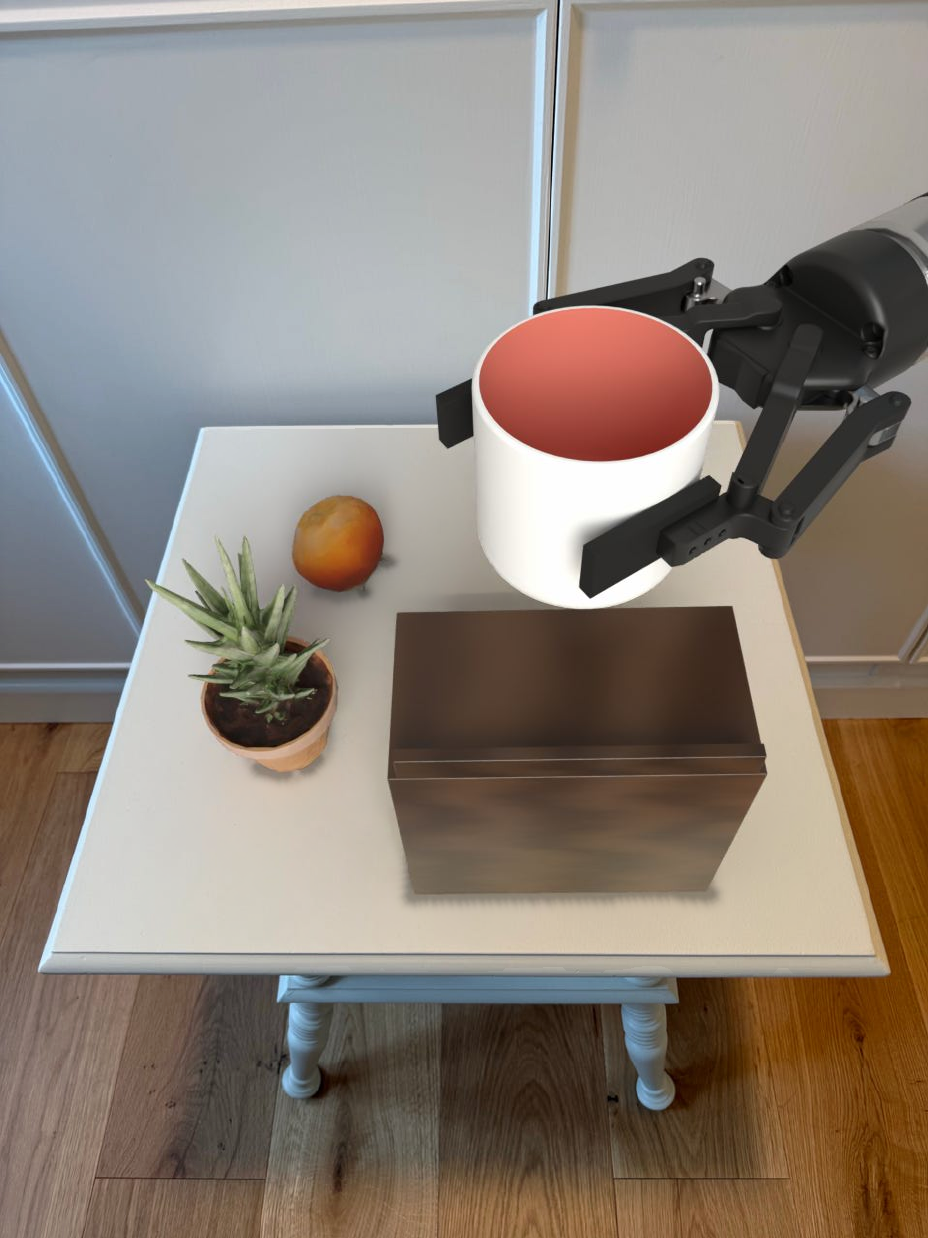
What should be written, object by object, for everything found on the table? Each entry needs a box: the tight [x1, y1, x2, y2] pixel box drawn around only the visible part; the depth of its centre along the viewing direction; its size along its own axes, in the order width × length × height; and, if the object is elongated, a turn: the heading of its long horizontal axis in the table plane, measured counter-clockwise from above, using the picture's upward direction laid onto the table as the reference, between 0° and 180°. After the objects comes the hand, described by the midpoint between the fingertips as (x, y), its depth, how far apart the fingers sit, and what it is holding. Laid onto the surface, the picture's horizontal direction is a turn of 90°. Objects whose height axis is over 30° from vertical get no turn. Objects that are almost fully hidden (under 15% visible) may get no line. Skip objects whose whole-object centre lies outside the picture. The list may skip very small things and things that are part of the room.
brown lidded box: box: [386, 605, 768, 895], centre depth 58 cm, size 20×11×20 cm, turn 90°
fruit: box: [291, 494, 389, 593], centre depth 78 cm, size 8×8×8 cm
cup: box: [472, 306, 720, 609], centre depth 41 cm, size 10×10×10 cm
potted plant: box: [144, 533, 339, 773], centre depth 61 cm, size 10×10×25 cm
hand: (509, 492), depth 39 cm, fingers closed on cup, 10 cm apart
